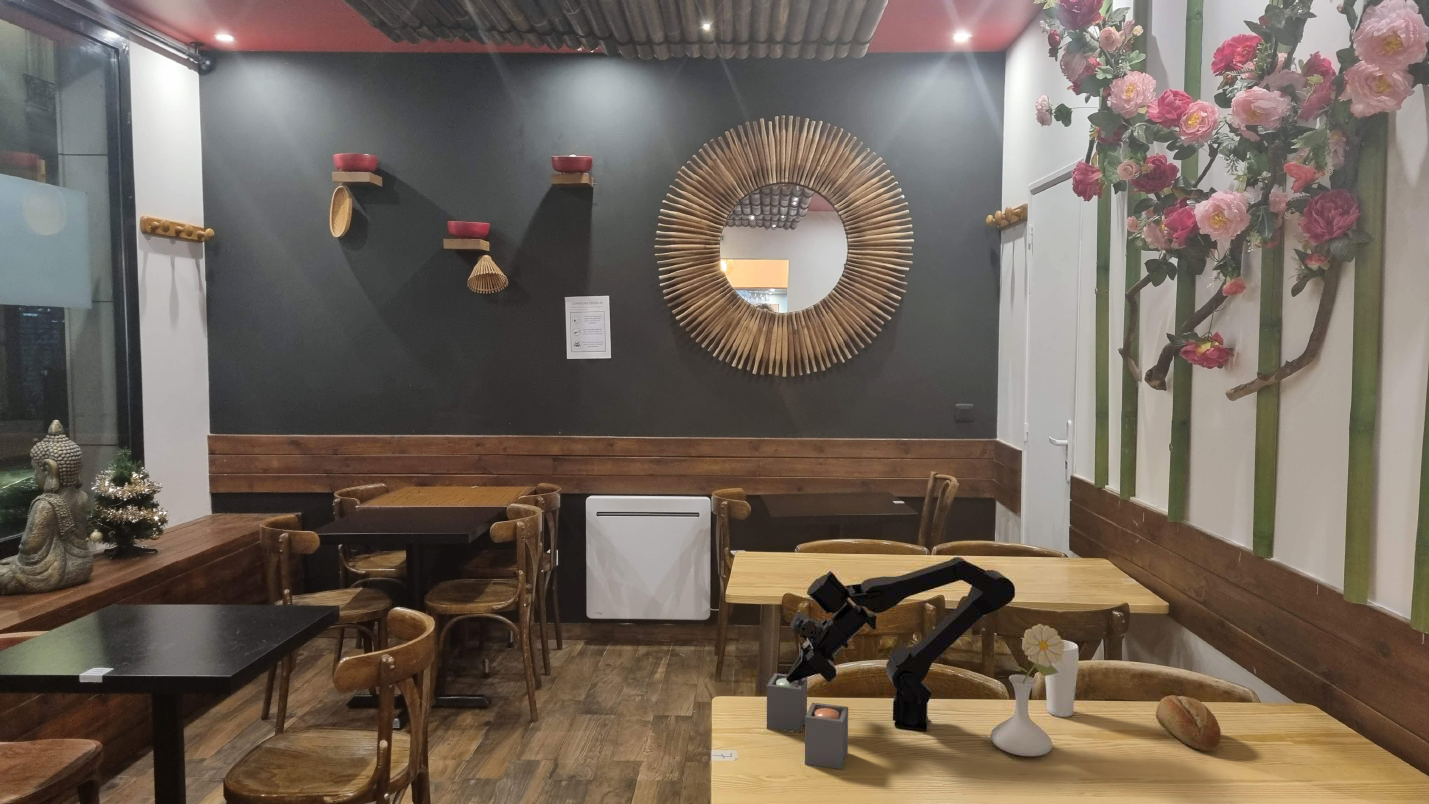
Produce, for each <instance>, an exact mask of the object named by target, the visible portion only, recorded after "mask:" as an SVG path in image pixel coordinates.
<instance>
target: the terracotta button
mask: <svg viewBox="0 0 1429 804" xmlns="http://www.w3.org/2000/svg"><path fill="white" fill-rule="evenodd" d="M815 717H822V718H830V719H837V720H839V712H838V711H836V710H834V709H830V708H821V709H818V710H816V711H815Z"/></svg>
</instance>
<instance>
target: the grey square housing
mask: <svg viewBox="0 0 1429 804" xmlns="http://www.w3.org/2000/svg"><path fill="white" fill-rule="evenodd" d="M821 708H830V709H834V710H836V711H838V712H839V720H837V719H830V718H822V717H815V711H816V710H818V709H821ZM848 747H849V707H848V706H844V705H843V706H842V705H835V704H828V703H827V704H826V703H820V702H811V704H810V706H809V708H808V709H807V714H806V716H805V724H804V765H806V766H814V767H821V768H827V767H829V768H828V769H835V770H841V771H842V770H843V768H844V766H843V765H845V763H844V762H846V759H847V757H848V756H847V755H848V752H849V748H848Z"/></svg>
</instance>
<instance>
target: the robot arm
mask: <svg viewBox="0 0 1429 804" xmlns="http://www.w3.org/2000/svg"><path fill="white" fill-rule="evenodd" d="M959 581H963V582H965V583H966V584H968V585H970V586H971V587H970V590H969V591H968V594H967V595H966V598H965V599H964V600H963V601H962V602H961V603H960V604H959V605H958V606H957V607H956V608H954V609H953V611H951V612H950V613H949V614H948V615H947V616H946V617H945V618H944V619H943V620H942V621H940V622H939V623H938V624H937V625H936V626H935V627H934V628H933V629H932V630H931V631H930V632H929V633H927V635H925V636H924V637H923V638H922V639H921V640H920V641H919V642H918V643H916V644H915V645H911V646H910V647H907V646H906V644H905V643H901V644H900V645H899V647H898V648H897V649H896V651H894V652H893V653H890V654H888V656H889V659H888V660H887V661H886V664H885V665H886V667H885V671H886V674H887V677H888V678H889V679H890V681H891V683H892V685H893V686H894V688H895V689H896V694H895V696H894V697H893V699H892V700H893V701H892V720H893V722H894V727H895V728H898V727H900V728H899V729H906V730H914V731H920V732H921V731H923V732H926V731H927V730H928V726H929V725H928V724H929V716H928V706H929V705H928V704H929V702H930V699H931V697H932V692H931V690H930V689H929V687H928V686H927V684H926V683H925V681H924V680H925V679H926V678H927V675H928V673H929V671H930V670H931V669H930V668H931V667H932V664H933V663H934V662H935V661H936V660H937V659H938V658H939V657H941V655H943V654H944V652H946V651H947V650H948V649H949V648H950V647H951V646H952V645H953V644H954V643H956V641H957V640H959V639H960V638H961V637H962V636H963V635H964V634H965V633H966V632H967V631H968V630H969V629H971V628H972V627H973V626H974V625H975V624H976V622H978V621H979V620H980V619H981V618H982V617H984V616H986V615H989V614H992V613H995V612H997V611H1000V610H1001V609H1003V608H1004V607H1005V606H1007V605H1009V604H1010V603H1011V602H1012V601H1013V600H1014V599H1015V597H1016V588H1015V584H1014V582H1012V581H1011V579H1009V578H1007V577H1006V576H1005V575H1004V574H1002V573H1001V572H999V571H998V570H996V569H995V570H994V569H986V570H985V569H984V568H981V567H979V566H977V565H976V564H973V563H971V562H970V561H967V560H965V559H964V558H963V557H960V556H957V557H953V558H951V559H950V560H947V561H943V562H940V563H937V564H934V565H930V566H928V567H924V568H921V569H918V570H913V571H911V572H908V573H905V574H902V575H897V576H878V577H877V576H876V577H870V578H867V579H864V580H863V581H862V582H860V583H856V584H848V585H844V584H843V583H842V582H841V581H840V580H839V579H838V578H837V576H836V574H834V572H833V571H831V570H830V571H828V572H827V573H826V574H823V575H822V576H819V578H817V577H816V579H815V580H814V581H812V583H811V584H810V585H809V587H808V589H807V591H806V595H808V596H809V597H810V598H811V600H812V601H813V602H814V603H816V605H818V606H819V607H820V608H821V610H823V612H825V613H826V614H830V613H831V614H833V615H832V616H831V617H830V618H829V619H828V618H823V619H822V620H821V621H819V620H816V619H814V618H812V617H811V616H809V615H805V614H804V613H802V612H799V611H796V612H795V614H794V615H793V618H792V620H791V622H790V625H789V626H790V627H791V631H792V632H793V633H794V634H797V635H798V636H799V637H800V638H804V640H805V641H804V643H802V642H800V641H799V643H798V646H799V648H798V649H799V650H798V651H799V653H798V656H797V658H796V660H795V661H794V663H793V665H792V666H791V668H790V670H789V672H788V673H787V674H786V675H787V677H786V680H787V681H788V682H789V683H791V682H794V681H797V680H800V679H803V678H806V677H807V678H808V677H812V676H813V677H814V676H817V675H820V676H821V677H823V678H824V679H825V680H826V682H827V683H832V681H833V680H834V679H835V678H836V677H837V669H836V666H835V664H834V663H833V662H834V661H835V660H836V658H835V655H836V654H837V653H838V652H839V651H840V650H842V648H845V649H847V648H848V647H849V646H850V644H849V642H850V640H851V639H852V638H853V637H854V636H855V635H856V634H858V633H859V632H860V631H861V630H862V629H863V628H864V627H865V626H866V625H868V626H869V627H870V628H871V629H872V630H873V631H875V630H877V615H876V614H882V613H884V612H886V611H888V610H890V609H892V608H894V607H896V606H898V604H900V603H901V602H902V601H903V600H905V599H907V598H910V597H912V596H915V595H918V594H921V593H924V592H928V591H930V590H931V591H932V590H934V589H937V588H940V587H943V586H946V585H949V584H953V583H956V582H959ZM852 602H853V603H852ZM865 608H866V609H867V610H866V609H865ZM868 611H870V613H869V612H868Z"/></svg>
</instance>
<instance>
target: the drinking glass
mask: <svg viewBox="0 0 1429 804" xmlns="http://www.w3.org/2000/svg"><path fill="white" fill-rule="evenodd" d="M1061 641H1063V642H1064V649H1063V651H1064V654H1062V660H1061V661H1058V662H1057V663H1056V664H1053V663H1052V666H1053V667H1054V668H1055V669H1056V670H1057V671H1058V673H1056V674H1053V675H1048V676H1045V675H1044V678H1045V691H1046V692H1045V694H1046V695H1045V696H1046V697H1045V698H1046V711H1047V712H1048V713H1049V714H1050V715H1052V716H1055V717H1059V718H1070V717H1071V716H1072V715H1073V714H1074V704H1075V695H1076V694H1075V693H1076V689H1077V688H1076V686H1077V677H1078V672H1079V670H1078V669H1079V658H1080V657H1079V646H1078V644H1077V643H1075V642H1073V641H1070V640H1065V639H1061Z"/></svg>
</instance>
